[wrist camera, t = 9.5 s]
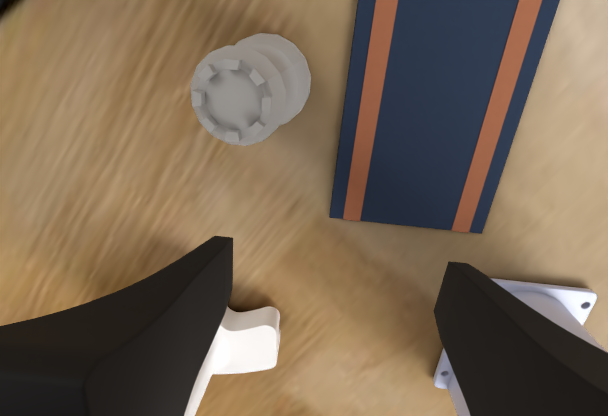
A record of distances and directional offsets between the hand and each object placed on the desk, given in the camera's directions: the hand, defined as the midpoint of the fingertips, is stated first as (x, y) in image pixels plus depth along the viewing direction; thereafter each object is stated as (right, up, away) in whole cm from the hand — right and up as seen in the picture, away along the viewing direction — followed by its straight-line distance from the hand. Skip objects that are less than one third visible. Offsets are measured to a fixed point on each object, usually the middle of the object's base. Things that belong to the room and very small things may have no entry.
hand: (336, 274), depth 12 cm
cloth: (+6, +8, +6) cm, 12 cm away
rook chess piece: (-3, +9, +7) cm, 12 cm away
